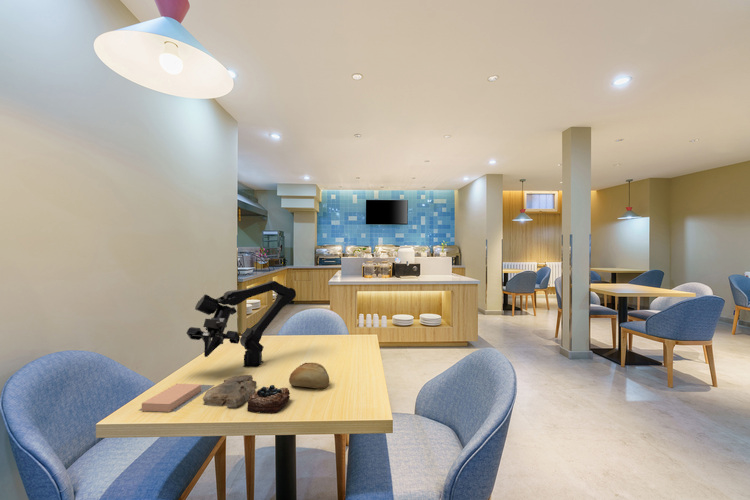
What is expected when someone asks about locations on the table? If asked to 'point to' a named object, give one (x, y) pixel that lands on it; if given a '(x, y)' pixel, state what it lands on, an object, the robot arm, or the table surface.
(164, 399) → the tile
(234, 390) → the flat grey rock
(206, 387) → the mat
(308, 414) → the table surface
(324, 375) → the bread roll
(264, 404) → the pastry
